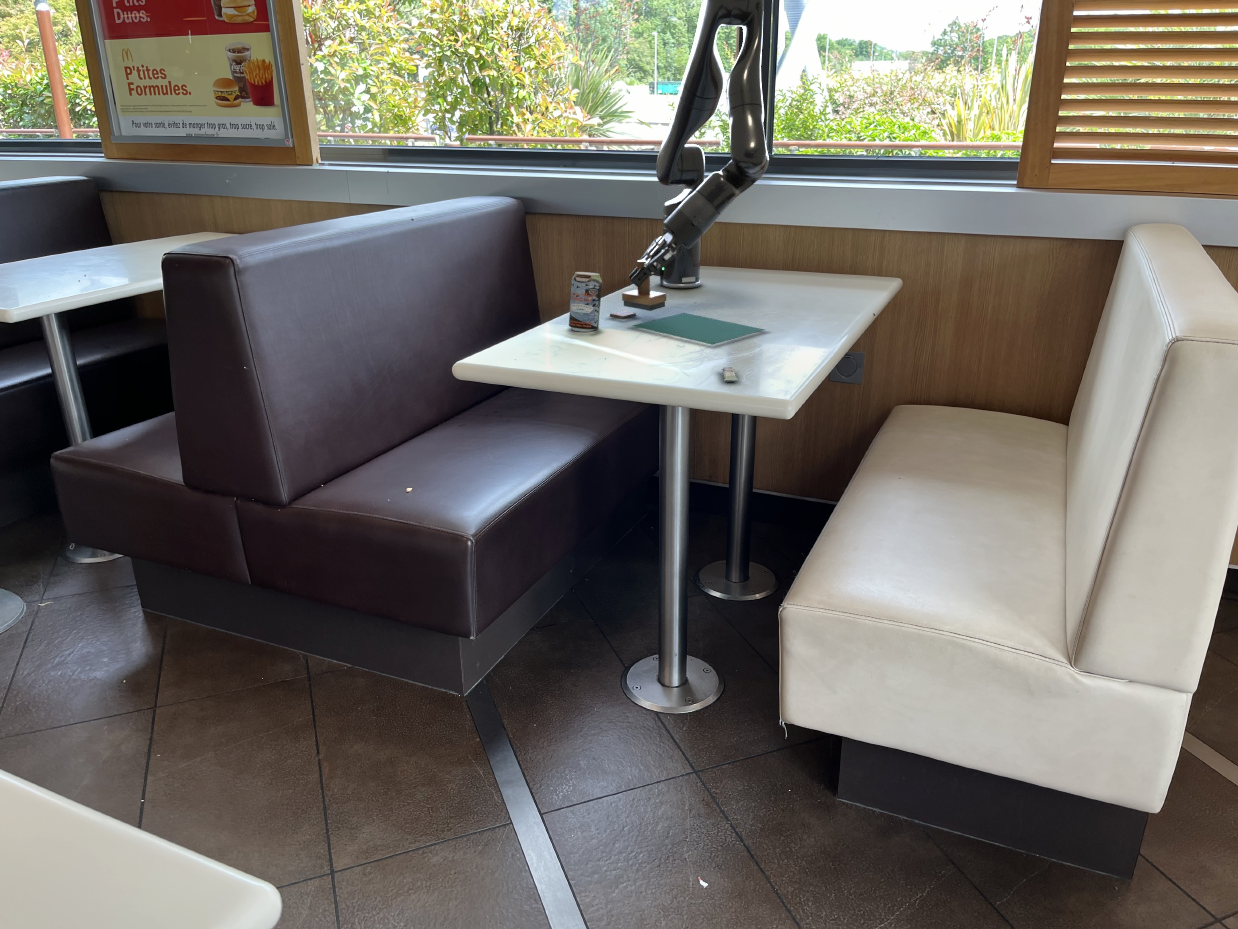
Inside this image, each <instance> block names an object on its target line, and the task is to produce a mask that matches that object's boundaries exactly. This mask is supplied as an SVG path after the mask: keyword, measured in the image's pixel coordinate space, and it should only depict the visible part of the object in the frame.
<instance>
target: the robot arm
mask: <svg viewBox="0 0 1238 929" xmlns="http://www.w3.org/2000/svg"><path fill="white" fill-rule="evenodd" d="M721 26H726V27H727V26H728V27H742V29H743V30H742V32H743V40H742V41H743V42H742V46H741V49H740V51H739V54H738V56H737V58H736V61H735V62H734V64H733V66H732V68H731V71H730V72H729V74H728V79H726V73H725V69H724V66H723V63H722V60H721V57H720V54H719V52H718V48H717V34H718V31H719V29H720V27H721ZM763 28H764V0H702V2H701V6H700V10H699V17H698V21H697V27H696V31H695V36H694V41H693V44H692V48H691V52H690V55H689V59H688V62H687V65H686V68H685V72H684V74H683V77H682V81H681V84H680V88H679V91H678V96H677V100H676V104H675V108H674V110H673V114H672V118H671V120H670V123H669V127H668V129H667V131H666V133H665V136H664V139H663V141H662V143H661V146H660V149H659V152H658V154H657V159H656V165H655V173H656V178H657V181H658V182H659V183H660V184H661V185H663V186H666V187H667V186H668V187H679V186H680V187H682V186H683V190H682V191H681V193H680V194H678V195H677V196H675V197H674V198H672V199H669V200H667V201H666V202H664V203H663V206H662V207H663V208H662V209H663V211H662V213H663V214H662V215H663V216H662V218H663V219H662V222H663V224H662V228H663V229H662V236H659V237H656V238H655V239H654V240H653V241H652V243H651V244H650V245H649V246H648V248H647V249H646V250H645V252H644V254H642V256H641V258H640V260H648V261H647V262H646V263H644V265H643V267H644V268H643V267H641V268H640V270H639V271H638V272H637V266H636V267H635V268H634V269H633V270H632V271H631V273H630V274H629V275H628V279H629V280H630V281H631V283H632V284H633V285H634V286H635V287H637V288H638V287H639V286H640V285H641V284H642V283H643V282H644V281H645V280H646V279H647V278H648V277H649V275H650V276H651V275H652V276H654V277H659V285H662V286H664V288H665V287H666V288H670V289H691V288H693V289H694V288H697V287H699V286H701V248H702V247H701V242H702V241H701V240H702V238H701V237H703V236H704V234H706V232H707V231H708V230H709V229H710V228H712V226H713V225H714V223H715V222H716V221H717V219H719V217H720V215H722V213H724V212H725V211H726V209H727V208H728V207H729V206H730V205H731V204H732V203H733V202H734V200H735V199H737V198H738V197H739V196H740V195H742V194H743V193H745V192H746V191H747V190H748V189H750V188H751V187H752V186H753V185H754V184H756V183H757V182H758V181H759V180H760V179H761V178H762V176H764V174H765V173H766V171H767V169H768V167H769V164H770V158H769V153H768V149H767V143H766V136H765V129H764V127H765V126H764V119H765V109H764V100H763V99H764V98H763V88H762V67H761V66H762V49H763V35H764V34H763V30H764V29H763ZM726 80H727V81H726ZM726 82H727V83H726ZM725 88H726V92H725V94H726V95H725V96H726V104H727V106H726V107H727V114H728V115H727V116H728V122H729V150H730V151H729V152H730V158H731V160H730V161H729V162H728V163H727V164H726V165H725V166H724V167H723V168H722V169H720V171H714V172H712V173H711V174H710V175H708V176H707V177H706V178H705V173H706V160H705V159H706V158H705V153H704V151H703V148H702V147H701V146H699V145H697V144H687V143H688V142H689V140H690V139H691V138H692V137H693V136H694V135H695V134H696V133H697V132H698V131H699V130H700V129H701V128H702V127H704V126H705V125H706V124H707V122H709V121H710V119H712V117H714V115H715V114H716V112H717V110H718V108H719V105H720V103H721V100H722V97H723V94H724V90H725Z"/></svg>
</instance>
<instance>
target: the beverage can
mask: <svg viewBox="0 0 1238 929" xmlns="http://www.w3.org/2000/svg"><path fill="white" fill-rule="evenodd" d="M602 286H603V280H602V278H601V276H600V273H597V272H596V273H595V272H588V271H586V272H585V271H575V272H574V275H573V276H572V278H571V287H570V301H569V314H568V327H569V328H571V330H572V331H574V332H582V333H590V332H594V331H595V330H598V329H599V327H600V326H599V325H600V316H601V315H600V313H601V299H602V288H603V287H602Z"/></svg>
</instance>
